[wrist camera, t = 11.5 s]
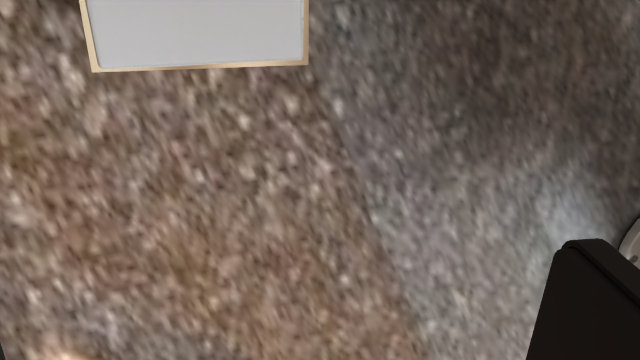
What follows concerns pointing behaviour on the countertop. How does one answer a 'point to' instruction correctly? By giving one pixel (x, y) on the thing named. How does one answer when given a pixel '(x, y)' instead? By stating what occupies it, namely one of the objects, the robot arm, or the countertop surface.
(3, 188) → the countertop surface
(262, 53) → the skincare box
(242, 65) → the pedestal
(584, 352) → the robot arm
